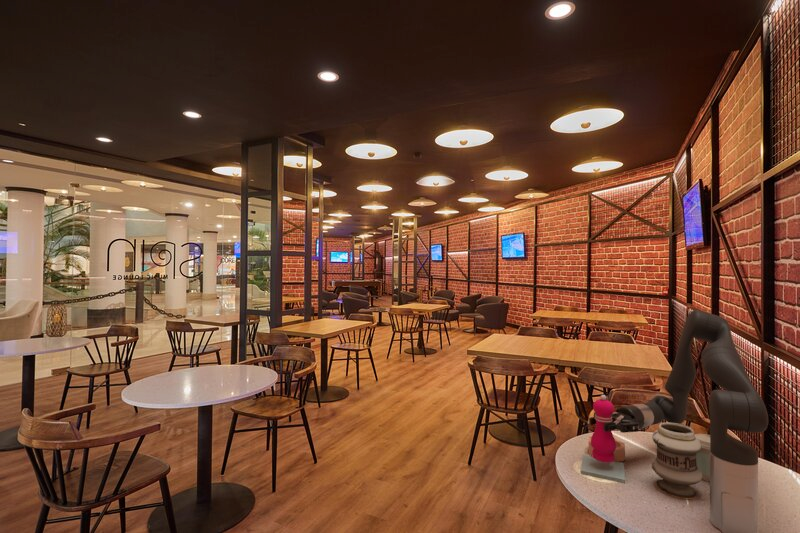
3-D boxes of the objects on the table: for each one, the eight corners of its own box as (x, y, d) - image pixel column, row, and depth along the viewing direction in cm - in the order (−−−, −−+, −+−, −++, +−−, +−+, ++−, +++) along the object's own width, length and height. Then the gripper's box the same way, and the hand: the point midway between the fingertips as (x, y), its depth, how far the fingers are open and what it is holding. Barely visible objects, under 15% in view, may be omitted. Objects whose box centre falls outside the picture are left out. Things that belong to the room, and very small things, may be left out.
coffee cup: (732, 486, 121) (733, 445, 121) (700, 483, 123) (700, 442, 123) (716, 472, 129) (717, 434, 129) (686, 469, 131) (686, 431, 131)
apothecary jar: (642, 484, 121) (643, 423, 121) (666, 475, 127) (667, 417, 127) (686, 505, 111) (687, 438, 111) (710, 495, 116) (711, 431, 116)
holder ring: (625, 464, 134) (625, 452, 134) (587, 457, 139) (588, 445, 139) (624, 451, 144) (624, 439, 144) (589, 444, 149) (589, 433, 149)
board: (625, 483, 122) (625, 479, 122) (580, 473, 127) (580, 470, 127) (623, 466, 133) (623, 463, 133) (582, 457, 138) (582, 455, 138)
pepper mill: (585, 455, 132) (585, 393, 132) (601, 451, 135) (601, 390, 135) (605, 465, 125) (605, 399, 125) (621, 460, 128) (621, 396, 128)
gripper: (615, 398, 142) (578, 405, 136) (655, 412, 129) (617, 420, 122) (615, 420, 142) (578, 428, 136) (655, 436, 129) (617, 445, 123)
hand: (597, 424), depth 129 cm, fingers closed on pepper mill, 4 cm apart
